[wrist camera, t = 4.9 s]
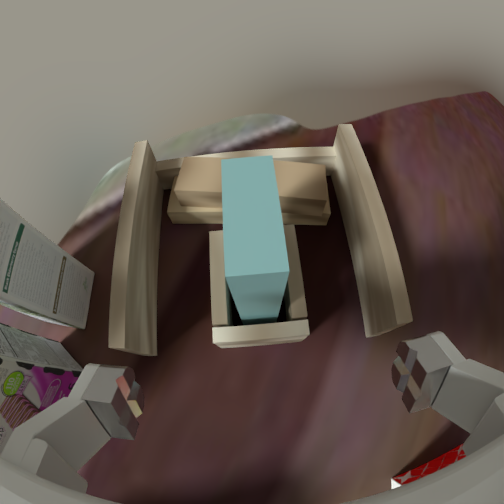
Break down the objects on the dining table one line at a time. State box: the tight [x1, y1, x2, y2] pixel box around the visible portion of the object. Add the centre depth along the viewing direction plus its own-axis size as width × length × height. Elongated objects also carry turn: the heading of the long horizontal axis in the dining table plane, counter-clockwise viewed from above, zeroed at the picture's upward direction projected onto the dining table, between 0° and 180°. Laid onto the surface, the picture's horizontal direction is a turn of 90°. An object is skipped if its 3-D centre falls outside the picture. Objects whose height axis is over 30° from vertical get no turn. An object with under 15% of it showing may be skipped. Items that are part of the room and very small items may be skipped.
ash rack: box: [108, 124, 413, 356], centre depth 22 cm, size 19×17×6 cm
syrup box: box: [0, 199, 95, 329], centre depth 17 cm, size 6×6×14 cm
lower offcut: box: [167, 176, 331, 225], centre depth 26 cm, size 14×4×2 cm, turn 88°
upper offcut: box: [174, 157, 327, 216], centre depth 24 cm, size 12×4×2 cm, turn 84°
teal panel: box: [221, 155, 290, 326], centre depth 18 cm, size 2×6×12 cm, turn 5°
